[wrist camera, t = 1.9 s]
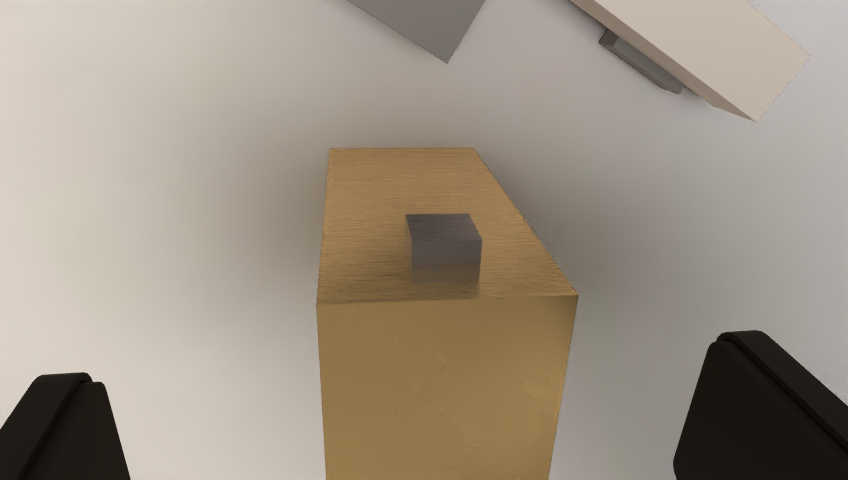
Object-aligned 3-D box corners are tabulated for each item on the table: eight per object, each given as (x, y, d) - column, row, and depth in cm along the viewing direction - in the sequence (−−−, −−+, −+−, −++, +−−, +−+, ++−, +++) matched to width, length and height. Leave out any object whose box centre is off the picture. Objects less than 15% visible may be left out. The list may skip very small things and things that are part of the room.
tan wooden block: (474, 122, 18) (585, 252, 10) (463, 293, 20) (542, 511, 12) (328, 122, 17) (313, 261, 9) (335, 298, 20) (329, 529, 11)
